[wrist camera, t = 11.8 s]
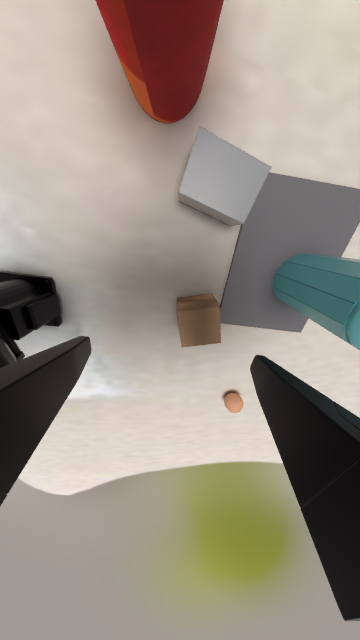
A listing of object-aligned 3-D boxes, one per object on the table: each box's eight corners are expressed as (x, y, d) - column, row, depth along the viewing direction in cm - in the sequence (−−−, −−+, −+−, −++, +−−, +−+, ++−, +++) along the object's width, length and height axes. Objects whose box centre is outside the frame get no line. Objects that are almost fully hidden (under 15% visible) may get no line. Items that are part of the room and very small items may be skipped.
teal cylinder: (279, 310, 22) (356, 366, 12) (266, 270, 19) (348, 302, 10) (327, 288, 20) (452, 332, 11) (319, 243, 18) (468, 250, 9)
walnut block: (181, 328, 23) (181, 347, 19) (177, 297, 21) (176, 312, 17) (213, 324, 23) (220, 342, 19) (212, 293, 21) (219, 306, 17)
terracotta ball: (220, 400, 30) (224, 416, 27) (225, 388, 29) (229, 403, 26) (236, 401, 30) (242, 417, 28) (241, 389, 29) (248, 405, 26)
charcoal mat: (216, 321, 23) (216, 322, 22) (255, 171, 16) (257, 170, 15) (298, 331, 24) (300, 332, 23) (371, 193, 17) (375, 192, 16)
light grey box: (178, 201, 17) (178, 191, 13) (194, 151, 15) (199, 125, 12) (230, 226, 18) (243, 223, 14) (250, 182, 16) (271, 167, 13)
